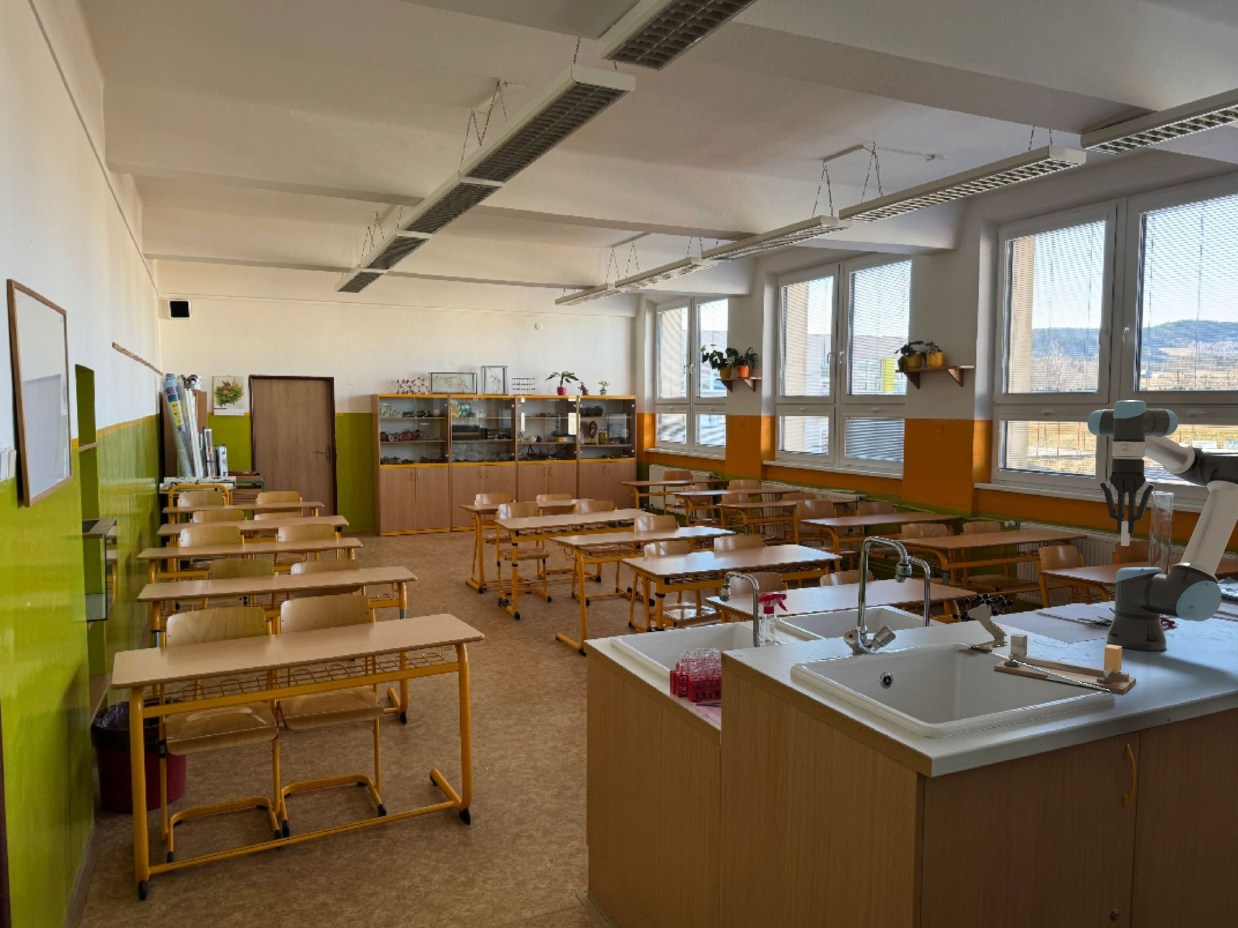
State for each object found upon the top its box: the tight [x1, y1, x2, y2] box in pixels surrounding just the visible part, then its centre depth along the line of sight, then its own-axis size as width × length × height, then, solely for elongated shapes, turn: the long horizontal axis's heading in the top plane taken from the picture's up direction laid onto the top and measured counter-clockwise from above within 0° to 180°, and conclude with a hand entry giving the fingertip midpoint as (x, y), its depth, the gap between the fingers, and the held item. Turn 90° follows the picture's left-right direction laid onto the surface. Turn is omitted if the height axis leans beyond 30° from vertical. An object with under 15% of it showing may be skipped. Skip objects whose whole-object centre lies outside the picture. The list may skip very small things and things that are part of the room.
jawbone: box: [967, 603, 1009, 651], centre depth 254 cm, size 14×8×15 cm
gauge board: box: [994, 632, 1137, 695], centre depth 223 cm, size 13×30×8 cm, turn 48°
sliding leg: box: [1103, 643, 1123, 678], centre depth 216 cm, size 9×3×7 cm, turn 138°
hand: (1125, 545), depth 234 cm, fingers closed
